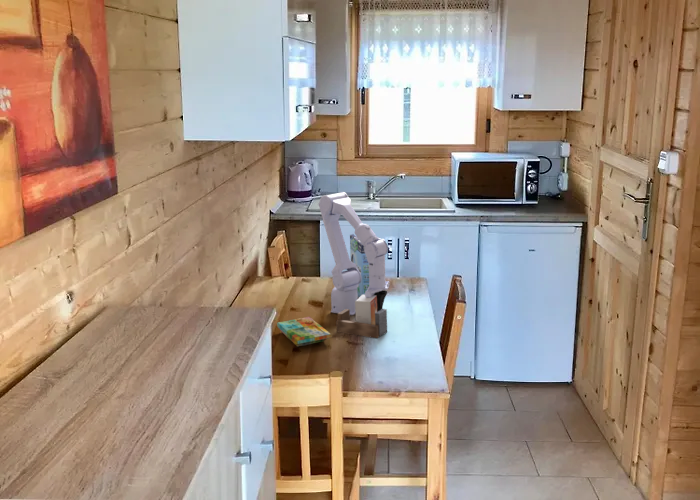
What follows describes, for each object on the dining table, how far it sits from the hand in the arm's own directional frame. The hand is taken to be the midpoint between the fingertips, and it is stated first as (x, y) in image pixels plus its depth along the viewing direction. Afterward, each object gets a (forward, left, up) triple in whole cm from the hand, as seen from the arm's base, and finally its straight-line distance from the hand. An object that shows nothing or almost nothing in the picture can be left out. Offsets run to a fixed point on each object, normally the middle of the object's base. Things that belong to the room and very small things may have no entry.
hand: (378, 311), depth 249 cm
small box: (-1, -8, -4) cm, 8 cm away
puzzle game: (-15, -26, -4) cm, 30 cm away
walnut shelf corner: (0, -12, -3) cm, 12 cm away
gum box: (-20, +24, -4) cm, 32 cm away
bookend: (+7, -12, -3) cm, 14 cm away
